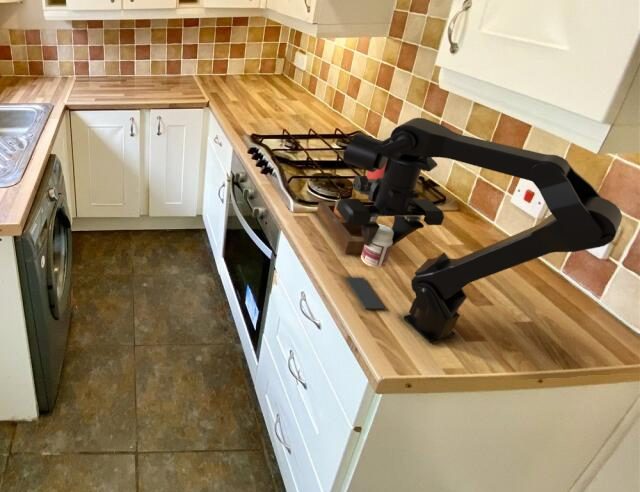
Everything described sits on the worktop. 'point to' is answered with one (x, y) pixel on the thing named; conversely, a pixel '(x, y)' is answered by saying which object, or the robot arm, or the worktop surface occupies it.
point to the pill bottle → (378, 248)
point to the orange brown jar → (337, 211)
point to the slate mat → (365, 294)
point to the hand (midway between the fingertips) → (378, 244)
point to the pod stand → (341, 229)
